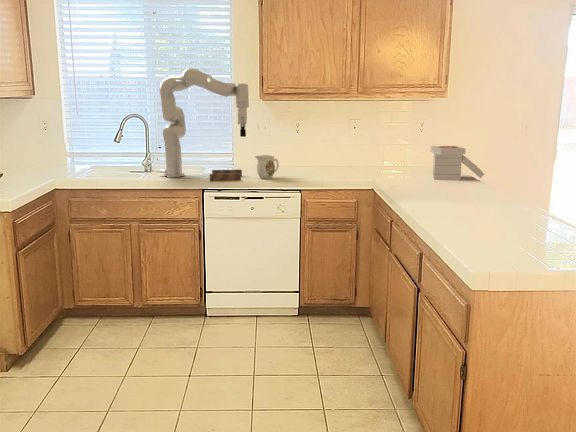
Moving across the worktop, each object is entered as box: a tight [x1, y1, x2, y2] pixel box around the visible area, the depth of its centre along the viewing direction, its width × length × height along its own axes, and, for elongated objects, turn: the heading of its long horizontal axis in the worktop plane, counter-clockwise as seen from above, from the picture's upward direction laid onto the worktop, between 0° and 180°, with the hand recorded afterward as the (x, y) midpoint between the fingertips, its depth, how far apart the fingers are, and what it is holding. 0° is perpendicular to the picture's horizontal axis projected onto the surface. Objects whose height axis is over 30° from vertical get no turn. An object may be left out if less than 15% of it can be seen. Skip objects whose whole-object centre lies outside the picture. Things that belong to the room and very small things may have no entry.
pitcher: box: [254, 154, 279, 180], centre depth 356 cm, size 11×18×14 cm, turn 132°
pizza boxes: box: [430, 145, 485, 181], centre depth 348 cm, size 19×30×18 cm, turn 79°
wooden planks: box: [209, 169, 243, 182], centre depth 356 cm, size 18×17×4 cm
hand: (243, 136), depth 352 cm, fingers closed
